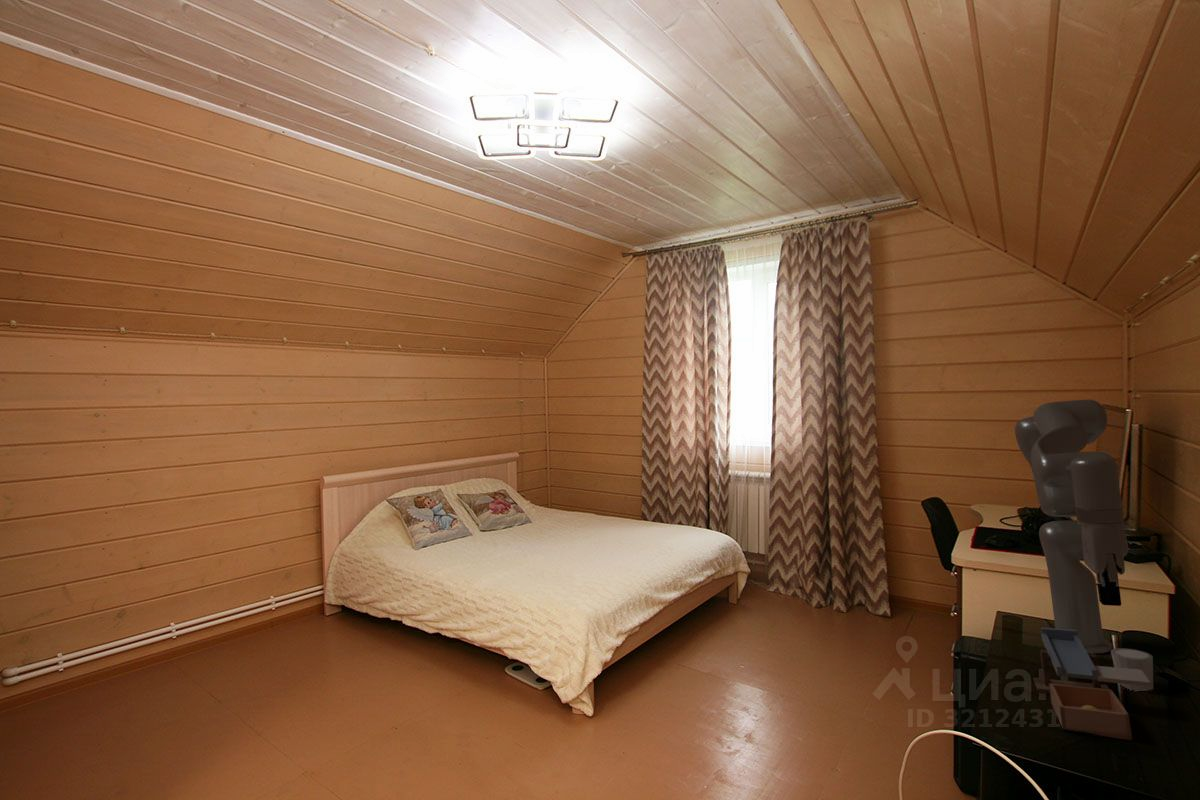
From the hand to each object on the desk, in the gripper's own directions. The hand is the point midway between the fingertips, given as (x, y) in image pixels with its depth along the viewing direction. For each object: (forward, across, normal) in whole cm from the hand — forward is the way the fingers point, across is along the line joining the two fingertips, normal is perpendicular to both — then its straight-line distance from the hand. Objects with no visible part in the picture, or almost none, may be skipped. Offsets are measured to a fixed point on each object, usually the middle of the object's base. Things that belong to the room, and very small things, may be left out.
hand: (1110, 604), depth 122 cm
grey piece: (+14, -4, -4) cm, 15 cm away
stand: (+20, -3, -8) cm, 22 cm away
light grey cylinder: (+20, -9, +4) cm, 23 cm away
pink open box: (+20, +11, -8) cm, 24 cm away
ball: (+17, +14, -8) cm, 23 cm away
